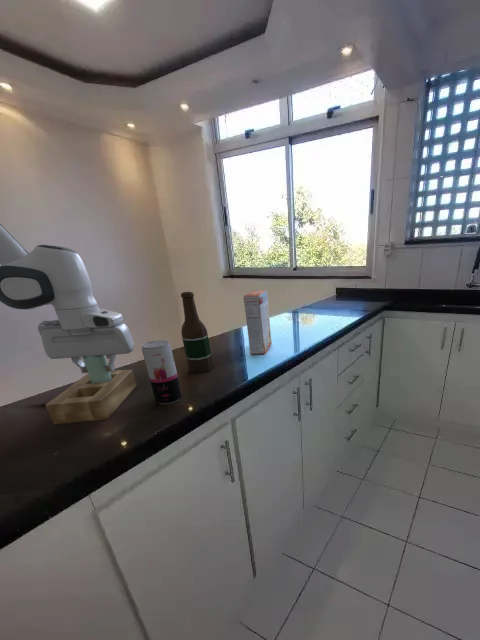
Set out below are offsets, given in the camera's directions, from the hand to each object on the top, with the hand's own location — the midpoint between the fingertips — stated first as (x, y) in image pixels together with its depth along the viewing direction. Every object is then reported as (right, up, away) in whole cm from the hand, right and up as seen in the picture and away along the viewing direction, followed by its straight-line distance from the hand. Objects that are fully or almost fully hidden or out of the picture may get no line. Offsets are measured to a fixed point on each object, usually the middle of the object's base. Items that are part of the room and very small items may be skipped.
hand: (99, 371), depth 82 cm
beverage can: (+19, -8, -1) cm, 20 cm away
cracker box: (+38, +12, +38) cm, 55 cm away
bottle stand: (+1, -8, -1) cm, 8 cm away
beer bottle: (+21, +2, +20) cm, 29 cm away
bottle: (0, -5, +3) cm, 6 cm away
